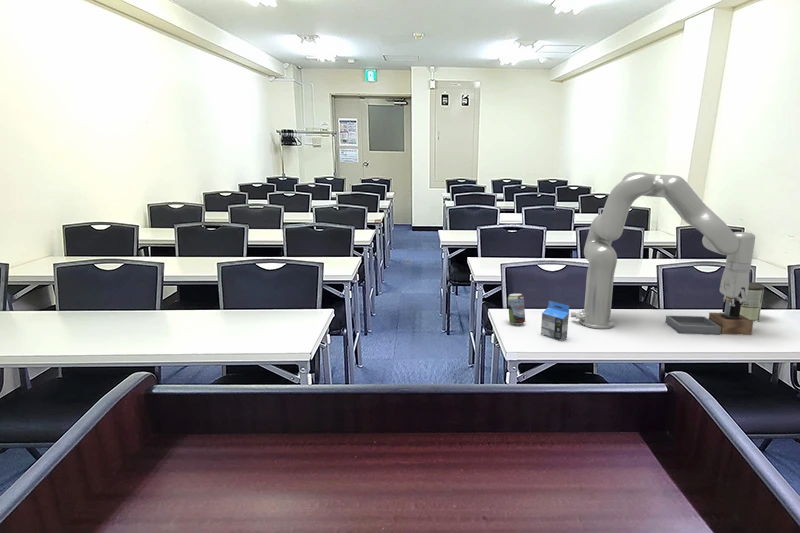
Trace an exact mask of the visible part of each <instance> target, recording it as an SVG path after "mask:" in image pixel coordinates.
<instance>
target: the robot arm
mask: <svg viewBox="0 0 800 533" xmlns="http://www.w3.org/2000/svg"><path fill="white" fill-rule="evenodd" d="M643 196H644V197H650V198H651V197H652V198H653V197H654V198H662V199H663V198H664V199H665V200H666V201H667V202H668V204H669V205H670V206H671V207H672V208H673V209H674V211H675V212H676V213H677V214H678V216H679V218H681V219H682V220H683V221H684V222H685V223H686V224H688V225H689V226H691V227H692V228H694V229H696V230H698V232H700V233H701V234H702V235H703V236H702V240H701V243H702V245H703V247H704V248H706V249H707V250H709V251H711V252H713V253H717V254H720V255H722V256H726V258H725V260H726V261H725V267H724V270H723V273H722V275H721V276H722V277H721V280H720V285H719V293H721V295H722V296H723V301H722V302H723V304H722V311H721V313H724V311H725V304H726V298H727V297H729V298H732V306H731V307H730V313H729V316H730V317H739V315H740V309H741V307H742V304H743V303H745V302H746V297H747V294H748V287H749V282H750V273H751V268H752V262H753V256H754V255H753V254H754V249H755V242H756V235H755V234H754V233H752V232H745V231H735V232H734V231H732V229H731V228H730V227H729V225H728V224H726V223H725V221H724V220H723V219H722V218H721V217H719V216H718V215H717V214H716V213H715V212H714V211H713V210H712V209H711V208H710V207H708V205H706V203H704V202H703V200H702V199H701V198H700V197H699V195H698V194H697V193H696V192H695V191H694V190H693V188H692V187H691V186H690V184H689V183H688V182H687V181H686V180H685V179H684V178H683V177H681V175H680V176H679V175H676V174H675V175H673V174H658V173H657V174H656V173H654V174H653V173H647V172H641V171H639V172H638V171H636V172H635V171H634V172H633V171H632V172H629V173H627V174H626V175H625V176H623V178H622V180H621V181H620V182H619V183H617V184H616V185H615V186H614V187H613V188H612V189H611V191H610V193H609V194H608V196H607V199H606V201H605V204H604V207H603V210H602V211H601V212H602V213H600V214H599V215H597V216H595V218H593V220H592V222H591V224H590V227H589V230H588V232H587V236H586V240H585V244H584V248H583V255H584V256H583V257H584V258H585V259H586V261H588V267H587V272H586V279H585V280H586V282H585V293H584V294H585V296H584V308H583V309H582V310H581V311H579V312H571V313H570V317H571V318H575V319H576V320H578V321H579V322H578V323H581V324H580V325H582V324H583V325H582V326H584V325H585V326H584V327H588V328H593V329H601V330H602V329H603V330H604V329H610V328H611V329H612V328H613V327H614V326H615V322H614V320H612V319H611V311H612V301H613V290H614V289H613V288H614V277H615V273H616V266H617V263H618V256H617V252H616V251H615V249H614V247H613V246H612V243H613V241H616V240H618V239H619V238H621V236H622V234H623V232H624V228H625V226H626V221H627V218H628V214H629V212H630V209H631V207H632V205H633V204H634V202H635V201H636V200H637V199H639V198H641V197H643ZM737 297H739V298H737ZM736 300H739V301H736Z"/></svg>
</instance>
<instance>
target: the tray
mask: <svg viewBox="0 0 800 533" xmlns="http://www.w3.org/2000/svg"><path fill="white" fill-rule="evenodd" d="M666 323H667V326H669V327H670V328H671V329H672V330H674V331H675V332H677V333H678V334H683V335H686V334H687V335H688V334H689V335H711V334H713V335H714V334H715V335H714V336H717V335H719V336H720V335H721V333H720V332H721V327H720V326H719V325H717V324H716V323H714V322H713V321H711V320H709V317H708V318H707V317H706V316H698V315H697V316H696V315H695V316H694V315H669V314H668V315H666V316H665V324H666Z"/></svg>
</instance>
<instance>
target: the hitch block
mask: <svg viewBox="0 0 800 533" xmlns="http://www.w3.org/2000/svg"><path fill="white" fill-rule="evenodd" d="M708 319H709V320H711V321H713V322H714V323H716V324H717V325H719V326H720V327H721V332H720V335H737V334H743V335H742V336H751V335H752V333H753V328H754V326H753V325H754V322H753V321H751V320H749V319H747V318H745V317H744V316H742V315H739V317H737V319H726V318H724V313H723V312H710V311H709V313H708Z"/></svg>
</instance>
